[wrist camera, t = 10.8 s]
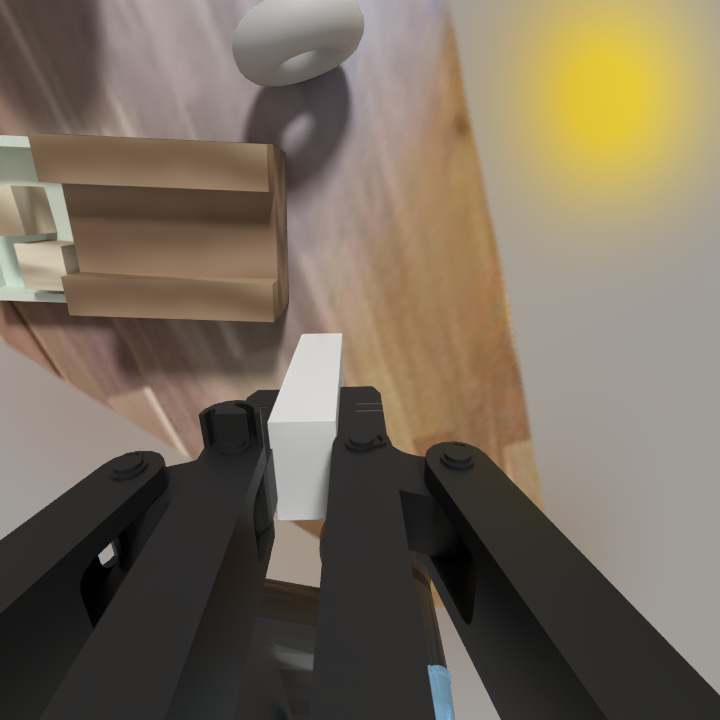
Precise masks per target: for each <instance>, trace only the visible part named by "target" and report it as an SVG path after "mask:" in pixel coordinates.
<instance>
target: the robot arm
mask: <svg viewBox="0 0 720 720" xmlns="http://www.w3.org/2000/svg"><path fill="white" fill-rule="evenodd" d="M199 419H200V425H201V430H202V436H203V441H204V449H203V451H202V452H201V454H200V456H199V457H198V459H197V460H195V461H191V462H188V463H183V464H178V465H174V466H169V467H166V466H165V461H164V458H163V457H162V456H161V455H160V454H159V453H156V452H153V451H136V452H133V453H132V452H130V453H126V454H124V455H122V456H119V457H116V458H114V459H112V460H110V461H109V462H107V463H105V464H103V465H102V466H101V467H99V468H98V469H97V470H95V471H94V472H92V473H91V474H90V475H88V476H87V477H86V478H84V479H83V480H82V481H80V482H79V483H77V484H76V485H75V486H74V487H72V488H71V489H70V490H68V491H67V492H66V493H64V494H63V495H61V496H60V497H58V498H57V499H56V500H54V501H53V502H52V503H50V504H49V505H48V506H46V507H45V508H44V509H42V510H41V511H40V512H38V513H37V514H36V515H34V516H33V517H32V518H30V519H29V520H27V521H26V522H25V523H23V524H22V525H20V526H19V527H18V528H17V529H15V530H14V531H12V532H11V533H10V534H8V535H7V536H6V537H4V538H3V539H1V540H0V720H455V716H454V708H453V701H452V694H451V677H450V673H449V671H448V670H447V665H446V661H445V656H444V651H443V646H442V641H441V636H440V631H439V627H438V622H437V617H436V612H435V607H434V602H433V598H432V593H431V588H430V583H431V579H432V581H433V583H434V585H435V588H436V590H437V592H438V594H439V596H440V598H441V600H442V602H443V604H444V606H445V608H446V610H447V612H448V614H449V615H450V618H451V620H452V622H453V624H454V626H455V628H456V630H457V632H458V634H459V636H460V638H461V640H462V642H463V644H464V646H465V648H466V650H467V652H468V654H469V656H470V658H471V660H472V662H473V664H474V666H475V668H476V670H477V672H478V674H479V676H480V678H481V680H482V682H483V684H484V686H485V688H486V690H487V692H488V694H489V696H490V698H491V700H492V702H493V705H494V707H495V709H496V711H497V713H498V715H499V717H500V719H501V720H720V695H719V694H718V693H717V692H716V691H715V690H714V689H713V688H712V687H711V686H710V685H709V684H708V683H707V682H706V681H705V680H704V679H703V678H702V677H701V676H700V675H699V673H698V672H697V671H696V670H695V669H694V668H693V667H692V666H691V665H690V664H689V663H688V662H687V661H686V660H685V659H684V658H683V657H682V656H681V655H680V654H679V653H678V652H677V651H676V650H675V649H674V648H673V647H672V646H671V645H670V644H669V643H668V642H667V640H666V639H665V638H664V637H662V635H661V634H660V633H659V632H658V631H657V630H656V629H655V628H654V627H653V626H652V625H651V624H650V623H649V622H648V621H647V620H646V619H645V618H644V617H643V616H642V615H641V614H640V613H639V612H638V611H637V610H636V609H635V608H634V606H632V604H631V603H630V602H628V600H627V599H626V598H625V597H624V596H623V595H622V594H621V593H620V592H619V591H618V590H617V589H616V588H615V587H614V586H613V585H612V584H611V583H610V582H609V581H608V580H607V579H606V578H605V577H604V576H603V574H602V573H601V572H600V571H599V570H597V568H596V567H595V566H594V565H593V564H592V563H591V562H590V561H589V560H588V559H587V558H586V557H585V556H584V555H583V554H582V553H581V552H580V551H579V550H578V549H577V548H576V547H575V546H574V545H573V544H572V543H571V541H569V540H568V538H567V537H566V536H565V535H564V534H563V533H562V532H561V531H560V530H559V529H558V528H557V527H556V526H555V525H554V524H553V523H552V522H551V521H550V520H549V519H548V518H547V517H546V516H545V515H544V514H543V513H542V512H541V511H540V510H539V508H538V507H537V506H536V505H535V504H534V503H533V502H532V501H531V500H530V499H529V498H528V497H527V496H526V495H525V494H524V493H523V492H522V491H521V490H520V489H519V488H518V487H517V486H516V485H515V484H514V483H513V482H512V481H511V480H510V479H509V478H508V477H507V475H506V474H505V473H504V472H503V471H502V470H501V469H500V468H499V467H498V466H497V465H496V464H495V463H494V462H493V461H492V460H491V459H490V458H489V457H488V456H487V455H486V454H485V453H484V452H482V451H481V450H480V449H478V448H476V447H474V446H471V445H469V444H466V443H462V442H442V443H439V444H436V445H433V446H432V447H431V448H430V449H428V450H427V453H426V456H425V457H421V456H415V455H411V454H407V453H404V452H402V451H400V450H398V449H396V448H395V447H393V446H392V444H391V441H390V439H389V437H388V436H387V433H386V427H385V420H384V413H383V407H382V400H381V394H380V393H379V392H378V391H377V390H376V389H375V388H374V387H373V386H366V387H344V371H343V341H342V333H331V334H302V336H301V338H300V341H299V343H298V346H297V348H296V351H295V353H294V356H293V359H292V361H291V364H290V366H289V369H288V371H287V374H286V376H285V379H284V382H283V384H282V387H281V389H280V390H258V391H256V392H255V393H253V394H252V395H251V396H249V397H248V398H247V399H246V401H243V400H234V401H225V402H222V403H218V404H214V405H212V406H210V407H208V408H206V409H205V410H203V411H202V412H201V413H200V414H199ZM276 505H277V512H278V520H279V521H281V520H320V519H326V520H325V522H324V524H323V527H322V530H321V537H320V558H321V562H322V570H321V581H320V588H317V587H312V586H305V585H300V584H294V583H289V582H283V581H277V580H272V579H267V578H265V577H266V573H267V569H268V564H269V560H270V556H271V551H272V547H273V542H274V538H275V530H274V521H273V517H274V513H275V509H276ZM110 543H111V544H112V548H113V551H114V554H115V555H114V556H113V557H112V558H111V559H110V560H109V561H108V562H106V563H105V564H104V565H102V564H101V563H100V560H99V557H98V555H99V554H100V552H102V551H103V550H104V549H105V548H106V547H107V546H108V545H109V544H110Z"/></svg>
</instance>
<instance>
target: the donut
mask: <svg viewBox="0 0 720 720" xmlns="http://www.w3.org/2000/svg"><path fill="white" fill-rule="evenodd" d="M363 31H364V19H363V14H362V12H361V9H360V6H359V4H358V1H357V0H264V1H262V2H261V3H259V4H258V5H257V6H255V7H254V8H252V9H251V10H250V11H249V12H248V13H247V14H246V16H245V17H244V18H243V19H242V20H241V21H240V22H239V24H238V27H237V29H236V32H235V35H234V37H233V40H232V50H233V55H234V59H235V62H236V65H237V67H238V69H239V71H240V72H241V73H242V74H243V76H244V77H245V78H247V79H248V80H250V81H252V82H254V83H255V84H257V85H261V86H269V87H278V86H286V85H291V84H296V83H299V82H302V81H306V80H309V79H312V78H314V77H317V76H319V75H321V74H324V73H326V72H328V71H329V70H331V69H333V68H335V67H337V66H338V65H340V64H341V63H343V62H344V61H345V60H346V59H347V58H348V57H349V56H350V55H351V54H352V53H353V52H354V51H355V50H356V49H357V47H358V45H359V42H360V40H361V38H362V35H363Z"/></svg>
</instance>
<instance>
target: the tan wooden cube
mask: <svg viewBox="0 0 720 720" xmlns="http://www.w3.org/2000/svg"><path fill="white" fill-rule="evenodd" d="M54 232H57V229H56V225H55V222H54V218H53V215H52V211H51V208H50V204H49V201H48V198H47V194H46V191H45V187H37V186H14V185H3V186H0V236H25V235H35V234H45V233H54Z"/></svg>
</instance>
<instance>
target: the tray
mask: <svg viewBox="0 0 720 720" xmlns="http://www.w3.org/2000/svg"><path fill="white" fill-rule="evenodd" d="M3 185H14V186H37V187H45V191H46V194H47V198H48V201H49V204H50V208H51V211H52V215H53V218H54V222H55V225H56V229H57V232H54V233H45V234H35V235H25V236H0V300H9V301H37V302H66V298H65V294H64V291H53V290H32V289H25V286H24V282H23V278H22V274H21V270H20V266H19V262H18V258H17V254H16V251H15V247H14V244H16V243H24V242H31V241H39V240H63V241H73V236H72V231H71V227H70V222H69V217H68V213H67V208H66V203H65V199H64V194H63V189H62V185H61V183H46V182H38V178H37V174H36V169H35V165H34V161H33V157H32V152H31V148H30V144H29V139H28V137H25V136H3V135H0V186H3ZM66 303H67V302H66Z"/></svg>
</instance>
